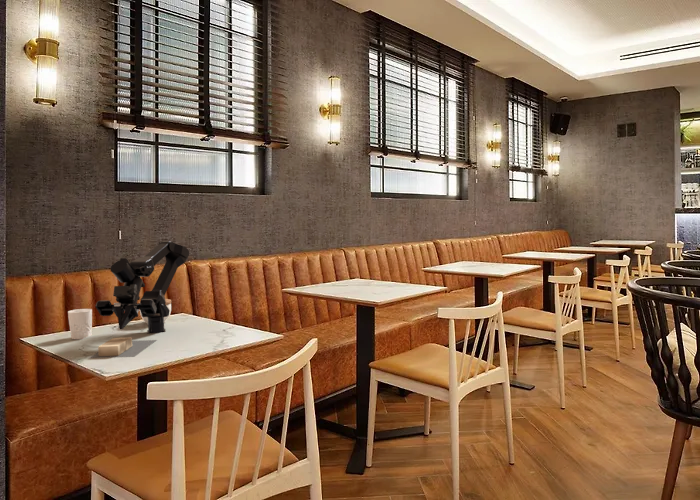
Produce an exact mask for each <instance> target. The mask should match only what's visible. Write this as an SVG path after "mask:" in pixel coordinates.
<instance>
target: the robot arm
mask: <svg viewBox="0 0 700 500" xmlns="http://www.w3.org/2000/svg"><path fill="white" fill-rule="evenodd" d="M189 257H190V251H189V249H188V248H187V247H186V246H184V245H181V244H178V243H175V242H173V241H172V240H171V241H170V240H169V241H168V240H165V241H163V240H162V241H159V243H158V245H156V246H155V247H154V248H153V249H152V250H150V251H149V252H148V253H146V255H144V256H142V257H138V258H136V259H134V260H132V261H131V262H129V260H128V258H127V257H121V258H120V259H119V260H118V261H116V262H114V263H113V264H112V265H111V266H110V272H111V274H112V275H114V277H116V279H117V280H118V281H119V283H122V284H123V285H115V286H114V287H113V294H112V295H113V297H115V298H116V299H115V300H116V301H115V302H113V304H112V302H111V300H109V299H108V300H98V301H97V302H96V304H95V309H96V310H97V312H98V314H99V315H100V316H102V317H111V316H112V315H113V314H115V316H116V317H117V321H118V328H119V330H124V329H125V327H126V326H127V325H128V324H129V323H130V322H132V320H134V319H135V318H138V317H139V312H140V311H141V314H142V317H148V324H147V331H146V333H147V334H158V333H165V332H166V331H167V330H166V328H165V323H164V317H167V316H169V311H170V310H169V309H168V307H167V306H166V305H165V304H166V300H165V299H166V297H165V295H166V294H167V291H168V290H169V287H170V285H171V283H172V280H173V278H174V277H175V274H176V273H177V270H178V268H179V267H181V266H182V265H184V264H185V263H186V261H187V260H188V258H189ZM162 259H165V263H164V266H163V267H162V269H161V271H160V274H159V275H158V277H157V279H156V282H155V283H154V286H153V288H152V289H151V290H146V291H144V293H143V295H142V297H140V293H141V289H142V288H145V286H146V284H145V283H144V280H143V279H142V277H143V278H146V277H147V278H149V277H150V276H151V275H152V274H153V272H154V271H155V266H156V265H157V264H158V263H159V262H160V261H161V260H162ZM138 301H139V302H140V303H139V302H138ZM141 314H140V315H141ZM142 317H141V318H142ZM169 317H170V316H169Z"/></svg>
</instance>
